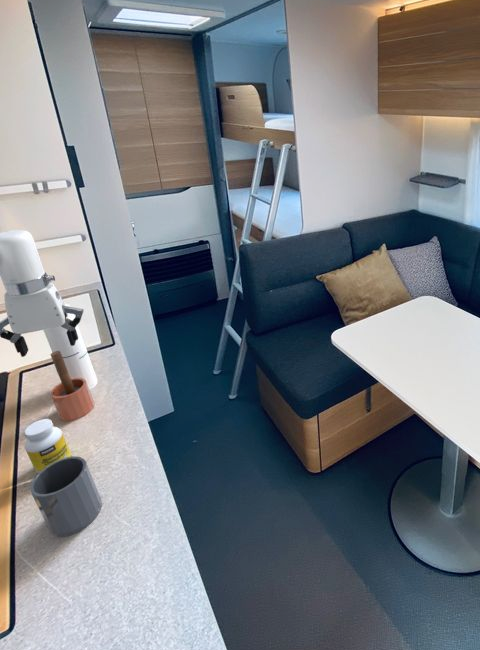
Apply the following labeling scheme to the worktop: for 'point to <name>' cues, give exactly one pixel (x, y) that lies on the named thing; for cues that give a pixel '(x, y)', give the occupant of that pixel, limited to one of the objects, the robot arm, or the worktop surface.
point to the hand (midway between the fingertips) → (50, 348)
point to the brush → (63, 373)
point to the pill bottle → (45, 444)
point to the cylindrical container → (72, 353)
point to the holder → (72, 400)
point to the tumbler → (66, 496)
